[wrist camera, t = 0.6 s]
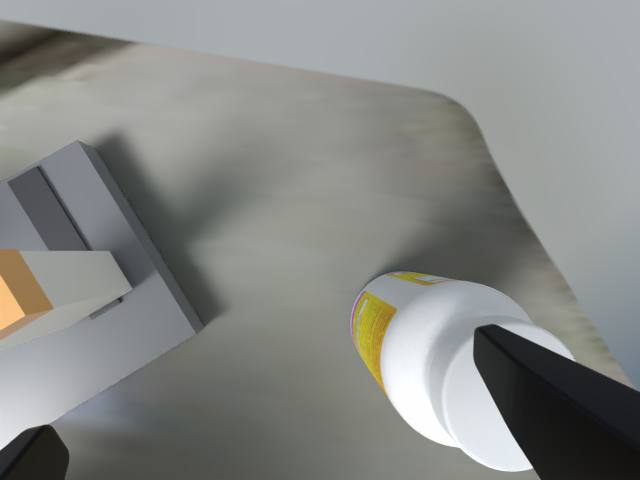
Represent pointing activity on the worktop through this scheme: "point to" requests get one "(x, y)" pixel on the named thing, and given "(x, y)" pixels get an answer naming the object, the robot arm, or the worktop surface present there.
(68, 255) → the block
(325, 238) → the worktop surface
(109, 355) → the grey plate with uprights
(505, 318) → the supplement bottle
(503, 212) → the worktop surface
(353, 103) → the worktop surface
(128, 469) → the worktop surface
